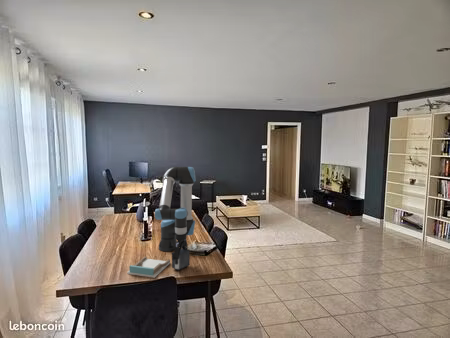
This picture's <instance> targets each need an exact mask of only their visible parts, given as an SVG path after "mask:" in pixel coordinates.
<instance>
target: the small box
mask: <svg viewBox="0 0 450 338" xmlns="http://www.w3.org/2000/svg"><path fill="white" fill-rule="evenodd" d="M173 256H174V251H172V252H171V267H172V269H174V270H176V271H180V270H182V269H185V268H186V267H189V266H190V264H191V263H190V257H191V256H190V249H181V250H180V255H179V269H175V260H174V259H173Z"/></svg>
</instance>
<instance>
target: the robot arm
mask: <svg viewBox="0 0 450 338" xmlns="http://www.w3.org/2000/svg"><path fill="white" fill-rule="evenodd" d="M196 181H197V180H196V172H195V168H194V167H193V166H173V167H170V168H168V170H166V171H165V173H164V174H163V175H162V188H161V194H160V201H159V205H158V206H159V207H158V208H155V210H154V219H155V220H158V221H161V222H160V240H159V245H158V250H159V251H160V252H174V256H173V259H174V260H175V269H174V270H176V269H179V255H180V250H181V249H187V250H189V246H188V241H187V237H188V236H192V235H194V232H195V225H196V220H194V217H193V216H192V211H193V210H192V208H193V207H192V206H193V203H192V202H193V201H192V199H193V198H192V197H193V195H192V193H193V189H192V187H193V185H194V184H195V182H196ZM176 182H178V184H179V186H180V207H179V208H171V205H172V204H171V203H172V196H173V190H174V189H173V188H174V184H175V183H176Z"/></svg>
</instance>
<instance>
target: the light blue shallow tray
mask: <svg viewBox="0 0 450 338" xmlns="http://www.w3.org/2000/svg"><path fill="white" fill-rule="evenodd" d="M170 264H171V259H167V260H161V259H151V258H147V256H144V257H142V258H141V259H140V260H139V261H137V262H136V263H135V264H134V265H132V264H130V265H129V270H128V271H127V272H126V273H127V275H131V276H132V275H134V276H140V277H148V278H155V279H156V277H157V276H158V275H159V274H160V273H162V272H163V271H164V269H166V268H167V266H169V265H170Z"/></svg>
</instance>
